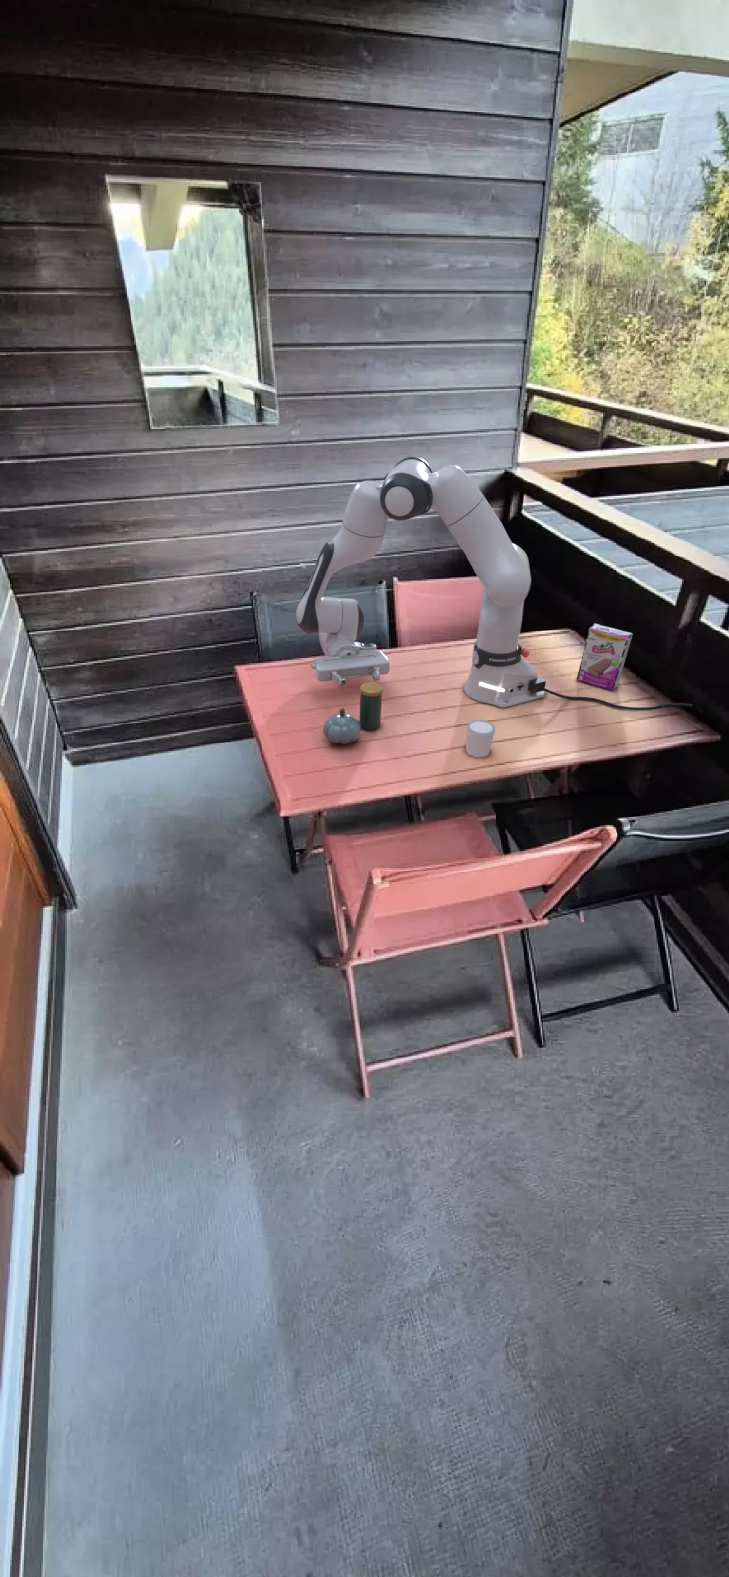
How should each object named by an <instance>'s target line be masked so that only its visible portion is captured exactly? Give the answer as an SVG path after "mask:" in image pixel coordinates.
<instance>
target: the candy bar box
mask: <svg viewBox="0 0 729 1577" xmlns="http://www.w3.org/2000/svg"><path fill="white" fill-rule="evenodd" d="M633 635H634V634H633V633H632V632H629V631H625V630H621V629H617V628H614V627H610V626H606V625H602V624H599V623H593V624H592V626H590V627H589V628H588V632H587V636H586V640H585V643H584V648H583V651H582V656H581V660H580V664H579V668H578V672H577V676H576V681H578V682H581V683H585V684H588V685H591V686H595V687H598V688H601V689H605V690H609V691H612V692H614V690H615V689H616V688H617V687H618V685H619V684H620V680H621V676H622V673H623V670H624V665H625V662H626V658H627V656H628V653H629V652H628V651H629V648H630V645H631V642H632V638H633Z"/></svg>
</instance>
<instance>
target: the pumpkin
mask: <svg viewBox="0 0 729 1577" xmlns="http://www.w3.org/2000/svg"><path fill="white" fill-rule="evenodd" d="M361 730H362V728H361V725H360V723H359V720H358V719H357V718H355V717H354V716H352V715H350V714H348V713H346V709H345V708H342V707H341V708H340V709H339V713H336V714H334V715H333V716H329V717H328V718H327V719H326V720H325V722H324V725H323V731H322V732H323V734H324V736H325V738H327V740H330V741H331V742H332V743H334V744H341V745H347V744H350V743H351V742H354V741H356V740H358V739H359V737H360V735H361Z"/></svg>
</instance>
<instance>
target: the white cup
mask: <svg viewBox="0 0 729 1577" xmlns="http://www.w3.org/2000/svg"><path fill="white" fill-rule="evenodd" d="M495 733H496V726H495V725H494V724H493V723H492V722H490V721H488V720H483V719H475V720H474V719H473V720H471V721H469V722H468V723H467V724H466V740H465V741H466V742H465V751H466V753H467V755H469V756H471V757H474V758H485V757H487V756H488V755H489V754H490V751H491V747H492V744H493V740H494V736H495Z"/></svg>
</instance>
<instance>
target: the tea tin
mask: <svg viewBox="0 0 729 1577" xmlns="http://www.w3.org/2000/svg"><path fill="white" fill-rule="evenodd" d="M383 690H384V687H383V685H381V684H380V683H377V682H375V681H368V682H364V683H362V684H361V685H360V686H359V693H360V694H359V695H360V696H359V720H358V721H359V723H360V725H361V730H364V731H368V732H371V731H372V732H373V731H377V730H379V729H380V727H381V719H382V704H383V703H382V700H383Z"/></svg>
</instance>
